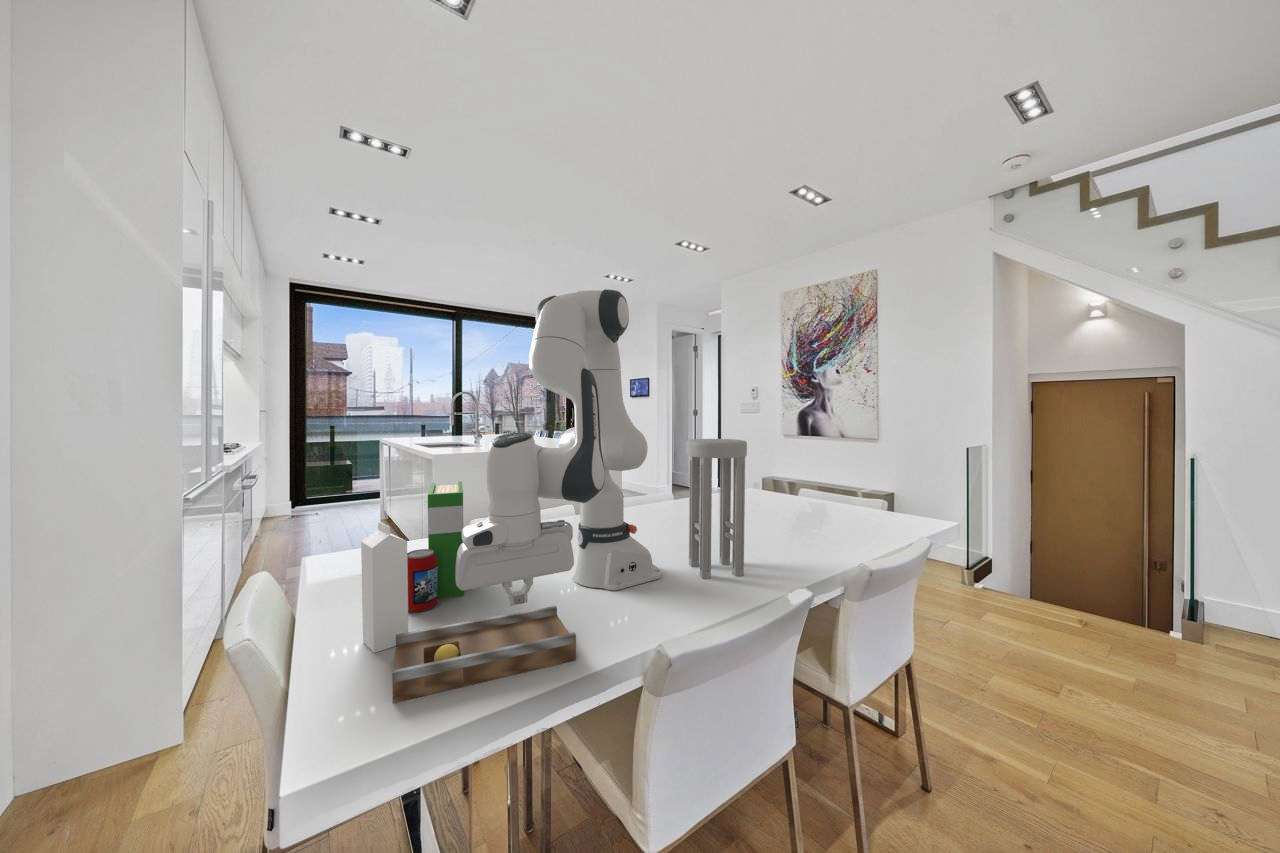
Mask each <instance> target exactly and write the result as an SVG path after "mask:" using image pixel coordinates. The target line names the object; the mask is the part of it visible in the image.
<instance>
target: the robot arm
mask: <svg viewBox="0 0 1280 853" xmlns="http://www.w3.org/2000/svg"><path fill="white" fill-rule="evenodd" d="M534 314H535V315H534V316H535V327H534V330H533V333H532V337H531V338H532V340H531V343H530V348H529V354H528V367H529V368H528V369H529V371H530V373H531V375H532V377H533V379H534V380H535V381H536V382H537V383H538V384H539V385H541V386H542V387H543V388H545V389H547V391H550V392H553V393H555V394H557V395H559V396H562V397H565V398H566V399H569V400H571V402H572V404H573V407H574V426H573V427H571V428H570V427H569V428H568V429H566V430H565V431H564V432H563V433H562V434H561V436H560V439H559V445H558V447H547V446H546V447H544V446H543V447H542V445H539V444H536V441H535V438H534V436H533V435H532V434H531V433H527V432H511V433H505V434H501V435H498V436H496V437H495V438H493V439H492V440H491V441H490V442H489V445H488V449H487V456H486V488H487V492H488V495H489V505H488V508H487V512H488V513H487V514H488V516H486V517H485V518H484V517H483V518H482V519H480V520H477V521H475V522H472V523H471V524H468V525H466V526H463V529H462V541H463V543H462V544H461V545H460V547H459V549H458V552H457V558H456V569H455V578H456V585H457V587H458V588H459V589H460V590H462V591H464V592H465V591H468V590H469V591H470V590H475V589H479V588H480V589H481V588H486V587H489V586H496V585H501V586H502V588H503V590H504V591H505V593H506V594H507V596H508V603H509V605H510V606H511V607H512V606H516V605H521V604H525V603H528V594H529V592H530V590H531V588H532V586H533V584H534V578H538V577H543V576H549V575H554V574H559V573H564V572H565V573H566V572H569V571H571V570H572V568H573V567H574V565H575V557H574V550H573V546H572V540H573V538H574V537H573V536H574V533H573V532H574V531H573V530H574V528H573V525H572V524H571V523H570V522H568V521H565V519H558V520H555V521H543V522H542V520H541V518H542V517H541V504H540V501H539V498H541V499H550V500H551V499H552V500H565V501H568V502H574V503H575V502H576V503H579V523H578V530H577V542H578V548H579V549H578V556H577V557H578V558H577V564H576V566H575V571H574V576H573V580H574V582H575V583H577V584H579V585H581V586H583V587H588V588H594V589H595V588H596V589H597V588H598V589H605V590H609V591H618V590H622V589H626V588H630V587H634V586H637V585H641V584H644V583H648V582H652V581H655V580H656V581H657V580H659V579H662V571H661V569H660V568H659V567H658V566H656V565H655V564H653V559H652V554H651V552H650V551H649V549H648V548H647V547H646V546H644V545H643V544H642V543H640V542H639V541H637V540H636V539H635V538H634V537H632V536H631V534H633V535H635V534H637V532H638V527H637V526H636V525H634V524H630V523H628V522H625V521H624V514H625V513H624V507H625V506H624V502H625V501H624V500H625V499H624V497H625V496H624V493H623V490H622V489H621V488H620V486H618V485H617V483H615V481H614V480H613V478H612V476H611V474H610V473H611V472H610V471H617V472H623V471H629V470H630V471H631V470H635V469H638V468H640V467H641V466H642V465H643V463H644V462H645V461H646V458H647V456H648V449H649V448H648V442H647V439H646V437H645V435H644V434H643V433H642V432H641V430H639V429H638V428H637V427H636V426H635V425H634V424H633V422H632V420H631V418H630V416H629V414H628V412H627V409H626V407H625V402H624V396H623V389H622V388H623V387H622V370H621V368H622V367H621V365H622V364H621V355H620V350H619V349H620V348H619V343H618V341H619V339H620V337H621V336H623V335H624V333H625V332H626V330H627V328H628V326H629V320H630V310H629V305H628V302H627V299H626V297H625V296H624V294H622V292H621V291H620V290H619V291H618V290H614V289H605V288H604V289H603V290H596V289H595V290H579V291H576V292H570V293H565V294H560V295H551V296H549V297H546V298H543V299H542V300H541V301H540V302H539V304H538V305H537V307H536V310H535V313H534ZM517 581H523V583H524V584H523V586H522V588H521V590H518V591H512V589H511V588H512V587H513V582H517Z"/></svg>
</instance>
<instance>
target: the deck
mask: <svg viewBox="0 0 1280 853" xmlns="http://www.w3.org/2000/svg"><path fill="white" fill-rule="evenodd" d="M446 644H452V645H455V646H456V647H457V648H458V650H459V652H460V656H459V657H454V658H449V659H445V660H440V661H435V662H434V656H435V653H436V651H437V650H438V649H439V648H440V647H441V646H443V645H446ZM393 661H394V663H393V670H392V672H391V673H392V674H391V676H392V677H391V678H392V680H391V683H392V704H395V703H398V702H399V703H400V702H404V701H408V700H413V699H415V698H416V699H417V698H420V697H424V696H427V695H428V696H429V695H432V694H437V693H442V692H446V691H451V690H454V689H458V688H463V687H467V686H471V685H475V684H481V683H484V682H488V681H492V680H497V679H501V678H506V677H510V676H514V675H517V674H523V673H527V672H531V671H535V670H539V669H544V668H548V667H553V666H557V665H561V664H565V663H569V662H574V661H577V634H576V632H575V631H574V632H569V631H568V629H567V627H566V626H565V625H564V623H563V621H562V620H561V619H560V617H559V616H558V607H557V605H553V606H547V607H542V608H535V609H532V610H531V609H529V610H524V611H519V612H515V613H508V614H501V615H497V616H491V617H486V618H480V619H475V620H469V621H463V622H458V623H453V624H447V625H441V626H436V627H435V626H434V627H432V628H431V627H430V628H425V629H420V630H413V631H408V632H407V633H401V634H396V646H395V652H394V660H393Z"/></svg>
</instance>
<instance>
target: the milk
mask: <svg viewBox="0 0 1280 853" xmlns="http://www.w3.org/2000/svg"><path fill="white" fill-rule="evenodd" d="M390 528H391V527H390V526H389V525H386V524H385V523H383V522H381V521H378V522H377V530H375V531H374V532H373V533H371V534H370V535H368V536H367V537H366V538H364V539H362V540H361V541H360V544H361V545H360V547H361V548H360V549H361V551H360V552H361V553H360V556H361V597H362V598H361V600H362V601H361V606H362V608H361V609H362V613H361V614H362V641H363V643H364V645H365V646H367V647H368V649H369V650H370V651H371V652H372V653H373V654H376V653H379V652H381V651H385V650H387V649H390V648H393V647H396V634H401V633H407V632H409V610H408V568H407V553H408V541H407V540H405V539H403V538H402V537H399V536H397V535H396V534H393V533H391V529H390Z"/></svg>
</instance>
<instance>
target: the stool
mask: <svg viewBox="0 0 1280 853" xmlns="http://www.w3.org/2000/svg"><path fill="white" fill-rule="evenodd" d="M685 450H686V453H685V455H686V456H689V490H688V491H689V494H688V495H689V496H688V497H689V498H688V499H689V506H688V507H689V509H688V510H689V511H688V514H689V515H688V516H689V517H688V523H689V524H688V566H690V567H691V568H695V567H699V577H700V578H701V579H702V580H703V579H704V580H705V579H712V508H713V507H712V505H713V504H712V500H713V499H712V498H713V497H712V496H713V495H712V494H713V492H712V491H713V489H712V488H713V459H720V467H719V468H720V470H719V471H720V474H719V476H720V478H719V480H720V481H719V485H720V487H719V489H720V490H719V492H720V493H719V558H718V559H719V562H718V563H719V564H721V565H722V566H723V565H724V566H726V565H731V564H732V565H731V567H732V568H731V570H732V571H731V574H732V575H733V576H734V577H743V576H745V573H744V572H745V571H744V570H745V511H746V510H745V502H746V500H745V498H746V497H745V496H746V457H747V456H748V442H747V440H741V439H731V438H693V439H689V440H687V441H686V449H685ZM732 459H733V465H732ZM732 466H733V468H732ZM732 470H733V475H732ZM732 476H733V478H732ZM732 479H733V480H732ZM732 481H733V482H732ZM732 483H733V484H732ZM731 495H732V496H731ZM731 501H732V502H731ZM731 503H732V504H731ZM731 506H732V508H731ZM731 510H732V511H731ZM731 512H732V513H731ZM731 514H732V515H731ZM731 518H732V521H731ZM731 531H732V533H731ZM731 542H732V551H731ZM731 552H732V557H731ZM731 558H732V560H731ZM731 561H732V563H731Z"/></svg>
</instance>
